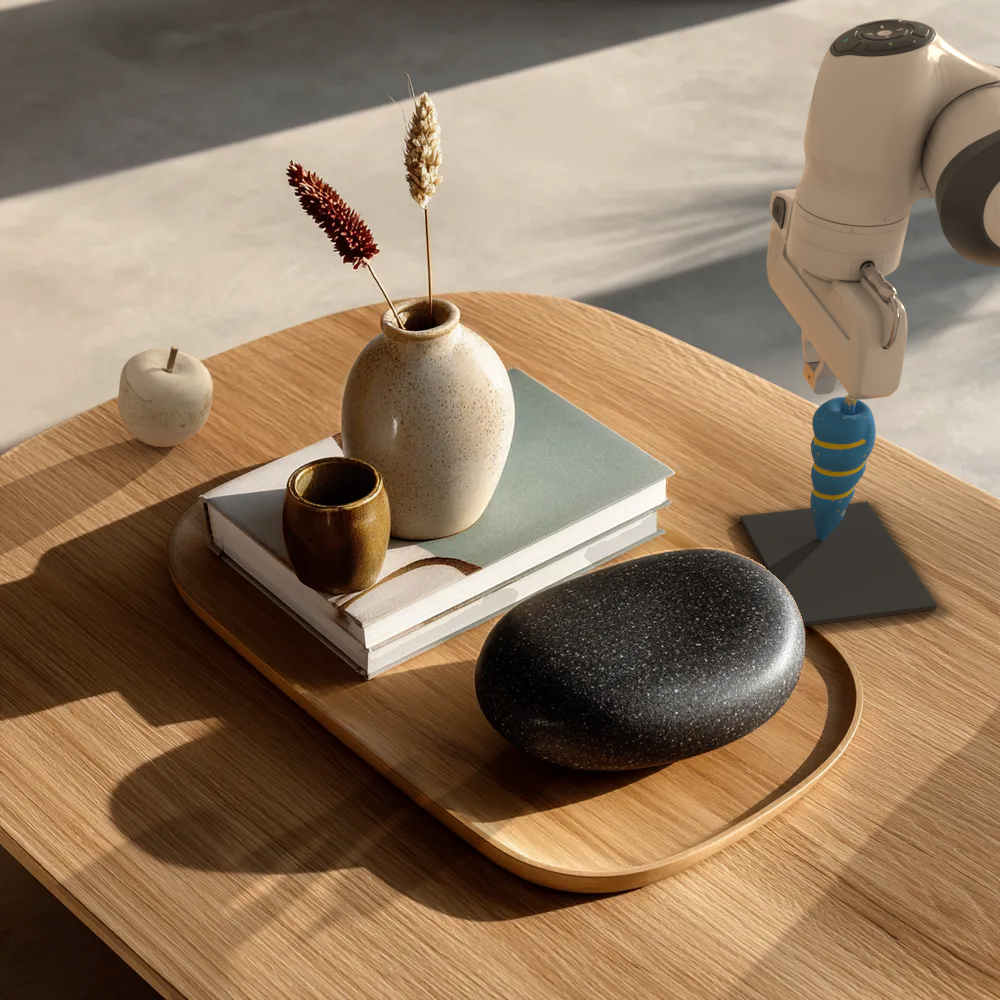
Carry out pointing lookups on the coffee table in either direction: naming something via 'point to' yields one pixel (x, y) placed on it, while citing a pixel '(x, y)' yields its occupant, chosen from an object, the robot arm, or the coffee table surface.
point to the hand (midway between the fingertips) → (817, 385)
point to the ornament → (838, 458)
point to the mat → (838, 565)
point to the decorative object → (164, 396)
